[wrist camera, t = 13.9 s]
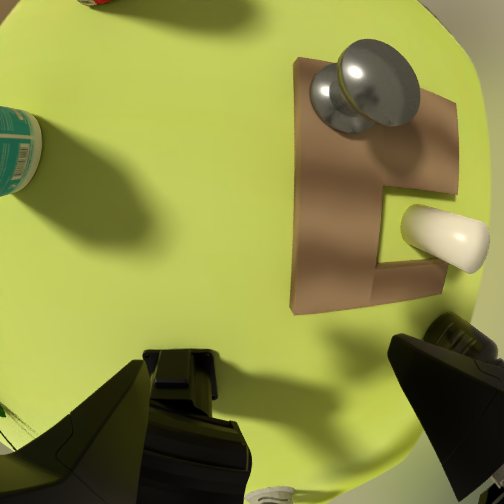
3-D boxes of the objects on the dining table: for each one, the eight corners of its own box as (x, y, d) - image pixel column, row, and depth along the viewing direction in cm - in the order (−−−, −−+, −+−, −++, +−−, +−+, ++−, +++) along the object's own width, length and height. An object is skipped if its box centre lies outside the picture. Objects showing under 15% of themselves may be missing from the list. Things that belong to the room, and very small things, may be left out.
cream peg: (426, 244, 23) (483, 271, 16) (398, 245, 23) (457, 276, 15) (431, 205, 22) (492, 222, 14) (402, 202, 22) (467, 220, 14)
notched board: (433, 288, 25) (441, 293, 24) (289, 306, 23) (294, 315, 21) (446, 104, 19) (456, 103, 18) (292, 63, 17) (298, 57, 16)
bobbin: (376, 138, 18) (423, 133, 13) (309, 129, 17) (345, 116, 12) (372, 74, 16) (414, 54, 11) (307, 60, 16) (338, 29, 10)
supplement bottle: (416, 363, 28) (467, 420, 17) (423, 322, 26) (489, 379, 15) (451, 343, 29) (502, 390, 17) (459, 303, 27) (522, 347, 15)
